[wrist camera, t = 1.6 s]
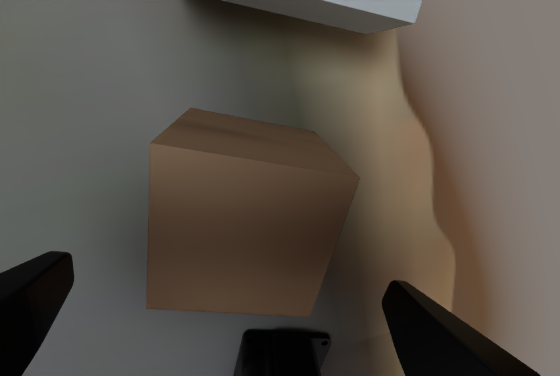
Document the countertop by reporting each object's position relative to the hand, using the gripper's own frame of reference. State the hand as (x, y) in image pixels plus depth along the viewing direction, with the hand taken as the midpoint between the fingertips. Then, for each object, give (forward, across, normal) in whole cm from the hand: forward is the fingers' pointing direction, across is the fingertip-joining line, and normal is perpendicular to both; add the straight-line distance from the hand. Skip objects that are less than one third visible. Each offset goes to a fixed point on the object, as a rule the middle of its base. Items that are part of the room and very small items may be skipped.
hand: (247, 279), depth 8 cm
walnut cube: (+7, 0, 0) cm, 7 cm away
